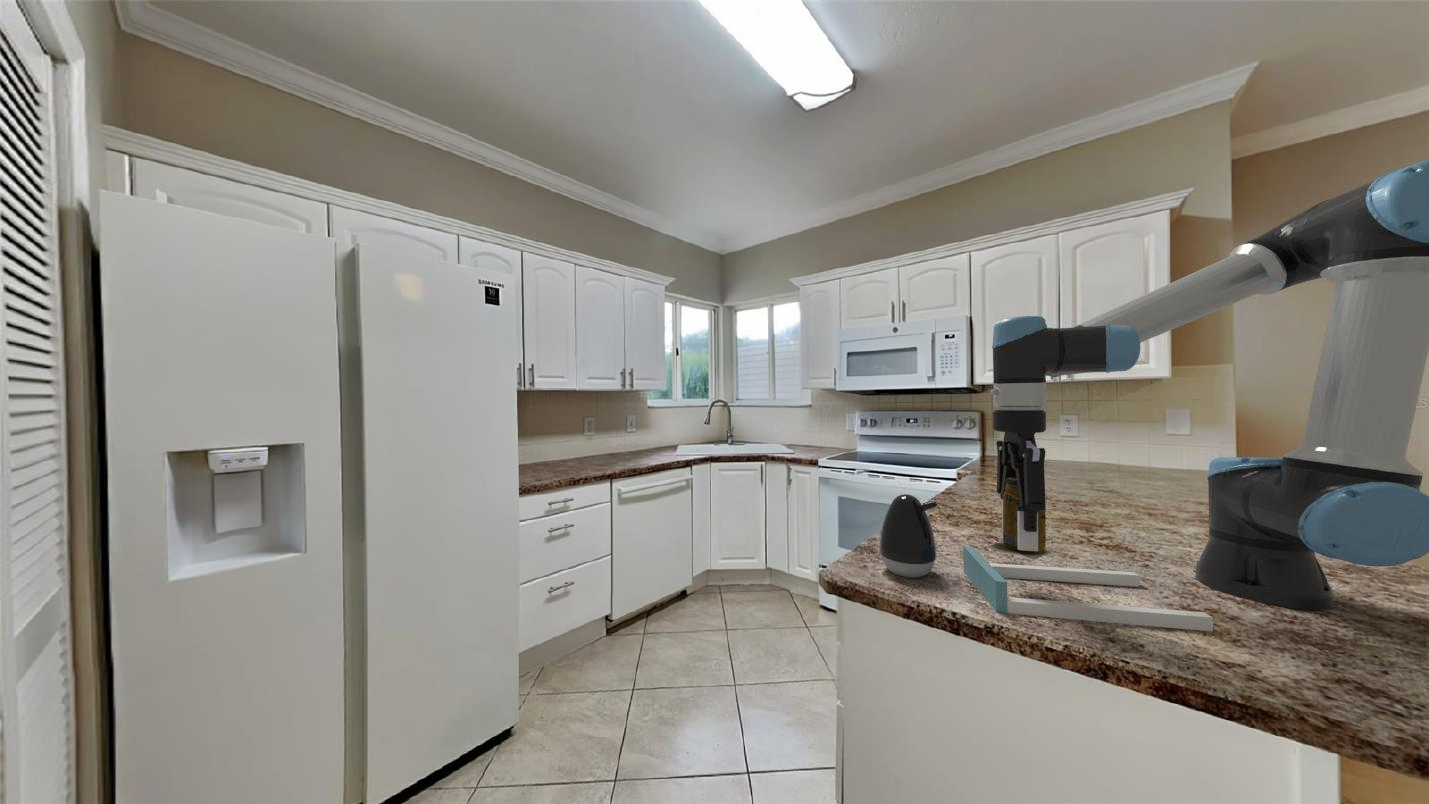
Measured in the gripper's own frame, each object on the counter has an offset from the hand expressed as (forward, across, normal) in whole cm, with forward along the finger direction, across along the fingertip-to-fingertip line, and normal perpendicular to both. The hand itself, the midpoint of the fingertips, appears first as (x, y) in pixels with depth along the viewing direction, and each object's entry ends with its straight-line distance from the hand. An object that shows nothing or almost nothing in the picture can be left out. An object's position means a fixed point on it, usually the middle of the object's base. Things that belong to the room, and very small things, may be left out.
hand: (1019, 543), depth 78 cm
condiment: (+1, +1, 0) cm, 1 cm away
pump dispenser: (+9, -6, -17) cm, 20 cm away
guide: (+9, 0, +8) cm, 12 cm away
